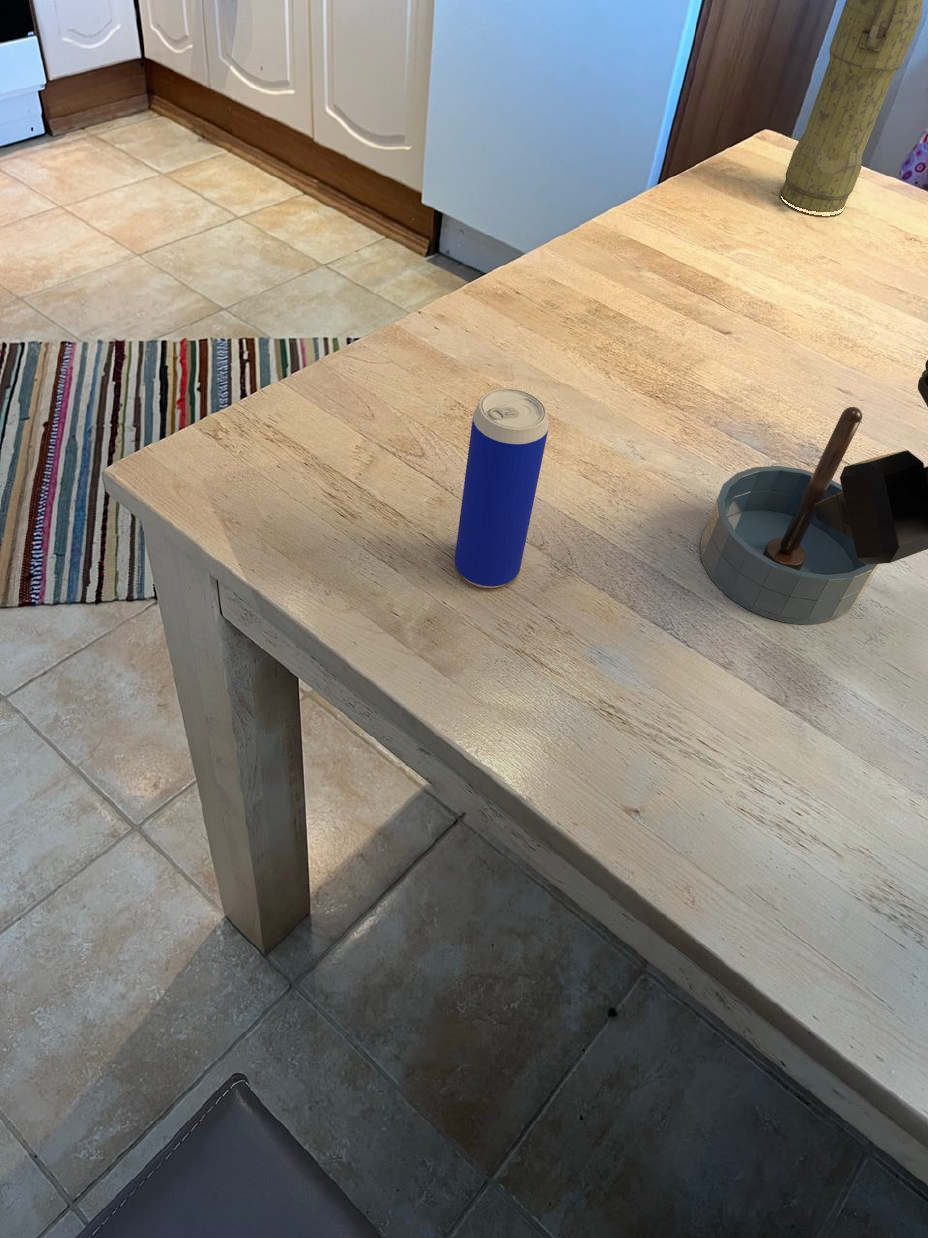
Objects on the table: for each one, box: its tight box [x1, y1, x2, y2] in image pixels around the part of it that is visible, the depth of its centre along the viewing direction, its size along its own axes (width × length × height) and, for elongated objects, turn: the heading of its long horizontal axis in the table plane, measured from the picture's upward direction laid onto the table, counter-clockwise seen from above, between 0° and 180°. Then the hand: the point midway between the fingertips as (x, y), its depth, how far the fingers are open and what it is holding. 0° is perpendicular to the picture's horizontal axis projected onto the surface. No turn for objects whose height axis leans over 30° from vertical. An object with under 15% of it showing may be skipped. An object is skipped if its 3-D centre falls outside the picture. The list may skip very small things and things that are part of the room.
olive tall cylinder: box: [779, 0, 924, 218], centre depth 115 cm, size 9×12×35 cm
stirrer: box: [763, 406, 863, 570], centre depth 72 cm, size 3×3×15 cm
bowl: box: [699, 465, 881, 626], centre depth 76 cm, size 13×13×5 cm
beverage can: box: [453, 387, 550, 589], centre depth 68 cm, size 5×5×15 cm
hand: (864, 495), depth 68 cm, fingers open, 9 cm apart
